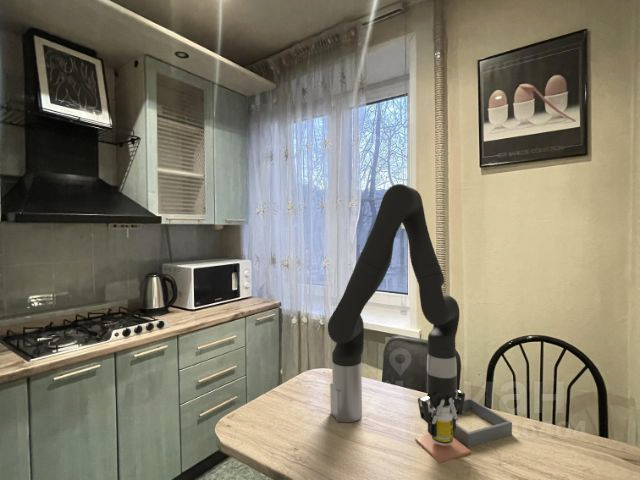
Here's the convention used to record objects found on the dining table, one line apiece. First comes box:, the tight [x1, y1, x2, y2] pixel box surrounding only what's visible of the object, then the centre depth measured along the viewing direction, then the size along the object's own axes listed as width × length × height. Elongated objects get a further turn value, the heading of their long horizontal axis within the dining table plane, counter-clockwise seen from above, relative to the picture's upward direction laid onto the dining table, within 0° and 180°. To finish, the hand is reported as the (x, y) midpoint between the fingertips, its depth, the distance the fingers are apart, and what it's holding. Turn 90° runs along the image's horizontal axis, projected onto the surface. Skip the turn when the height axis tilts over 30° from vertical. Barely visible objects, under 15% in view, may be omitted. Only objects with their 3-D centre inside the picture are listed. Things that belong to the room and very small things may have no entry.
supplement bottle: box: [432, 405, 454, 446], centre depth 92 cm, size 5×5×10 cm
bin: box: [433, 397, 513, 448], centre depth 102 cm, size 16×16×4 cm
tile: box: [415, 433, 472, 463], centre depth 92 cm, size 10×10×1 cm
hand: (441, 432), depth 92 cm, fingers closed on supplement bottle, 5 cm apart
